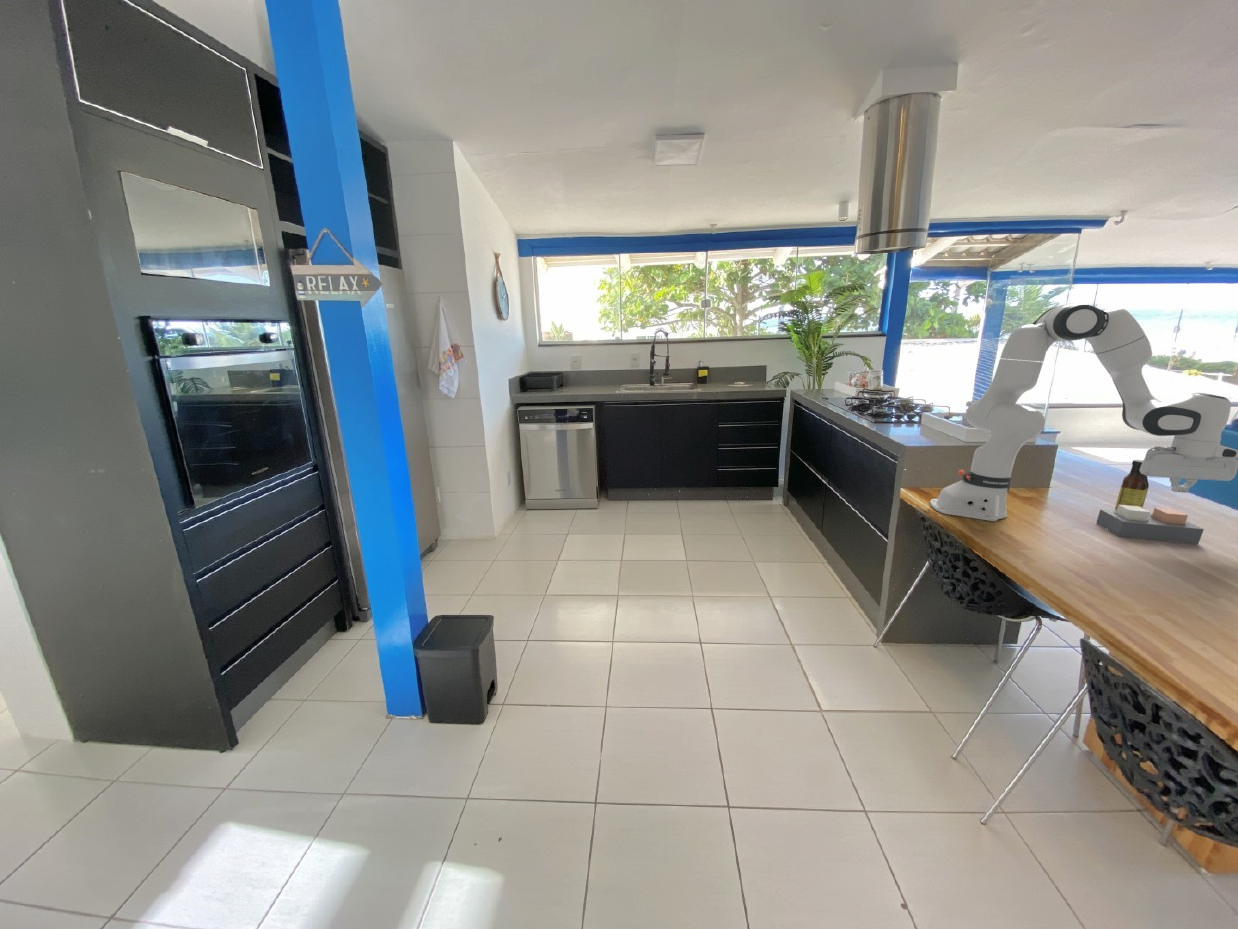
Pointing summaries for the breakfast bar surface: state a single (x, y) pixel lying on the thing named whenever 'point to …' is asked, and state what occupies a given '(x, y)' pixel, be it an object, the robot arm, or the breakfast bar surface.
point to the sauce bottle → (1133, 487)
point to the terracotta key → (1169, 516)
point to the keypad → (1149, 528)
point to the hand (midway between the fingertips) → (1179, 491)
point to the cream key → (1132, 512)
